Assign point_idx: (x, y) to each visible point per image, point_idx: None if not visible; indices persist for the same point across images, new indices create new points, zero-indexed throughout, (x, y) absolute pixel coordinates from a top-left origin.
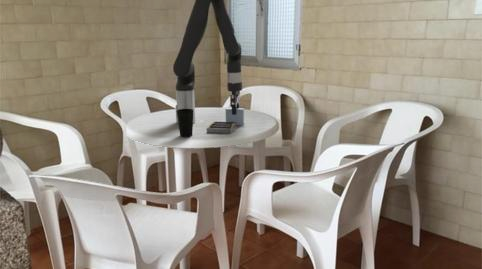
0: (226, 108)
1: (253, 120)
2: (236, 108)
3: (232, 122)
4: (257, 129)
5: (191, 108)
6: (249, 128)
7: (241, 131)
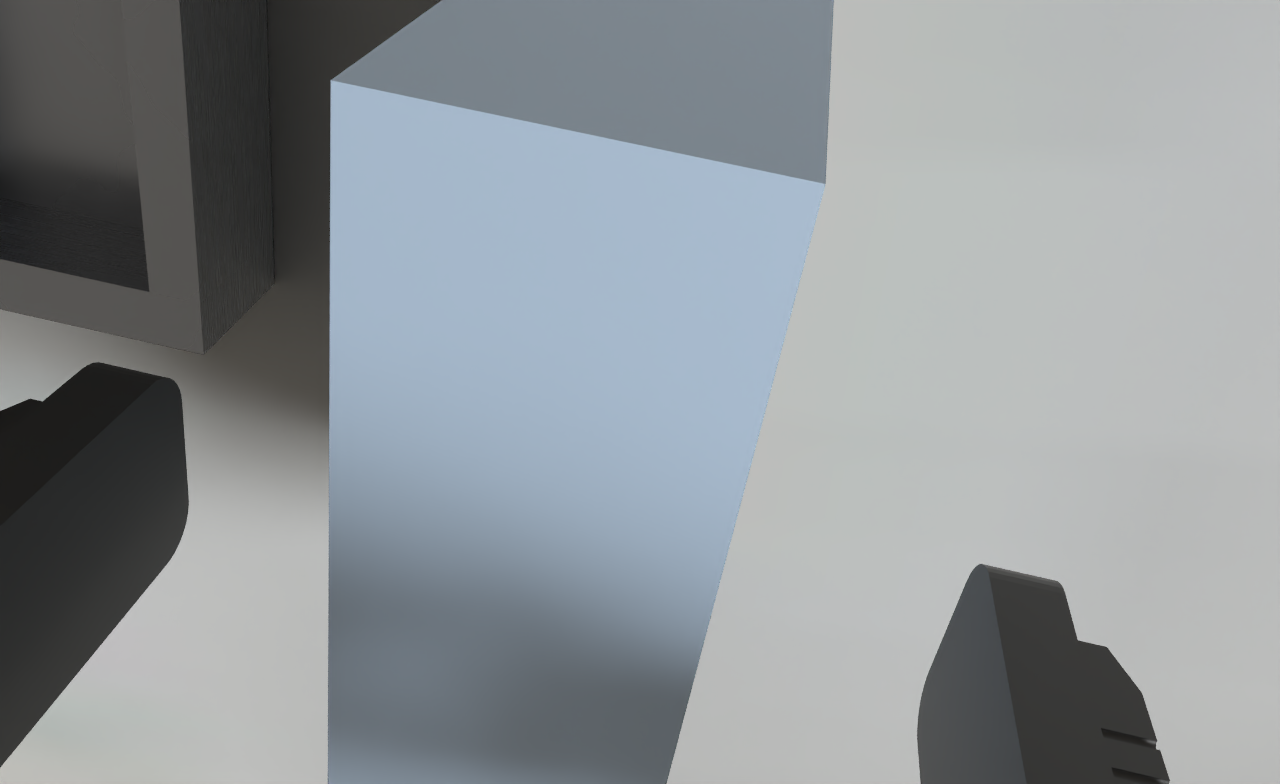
0: (595, 160)
1: None
2: (579, 743)
3: (147, 212)
4: None
5: None
6: None
7: None
